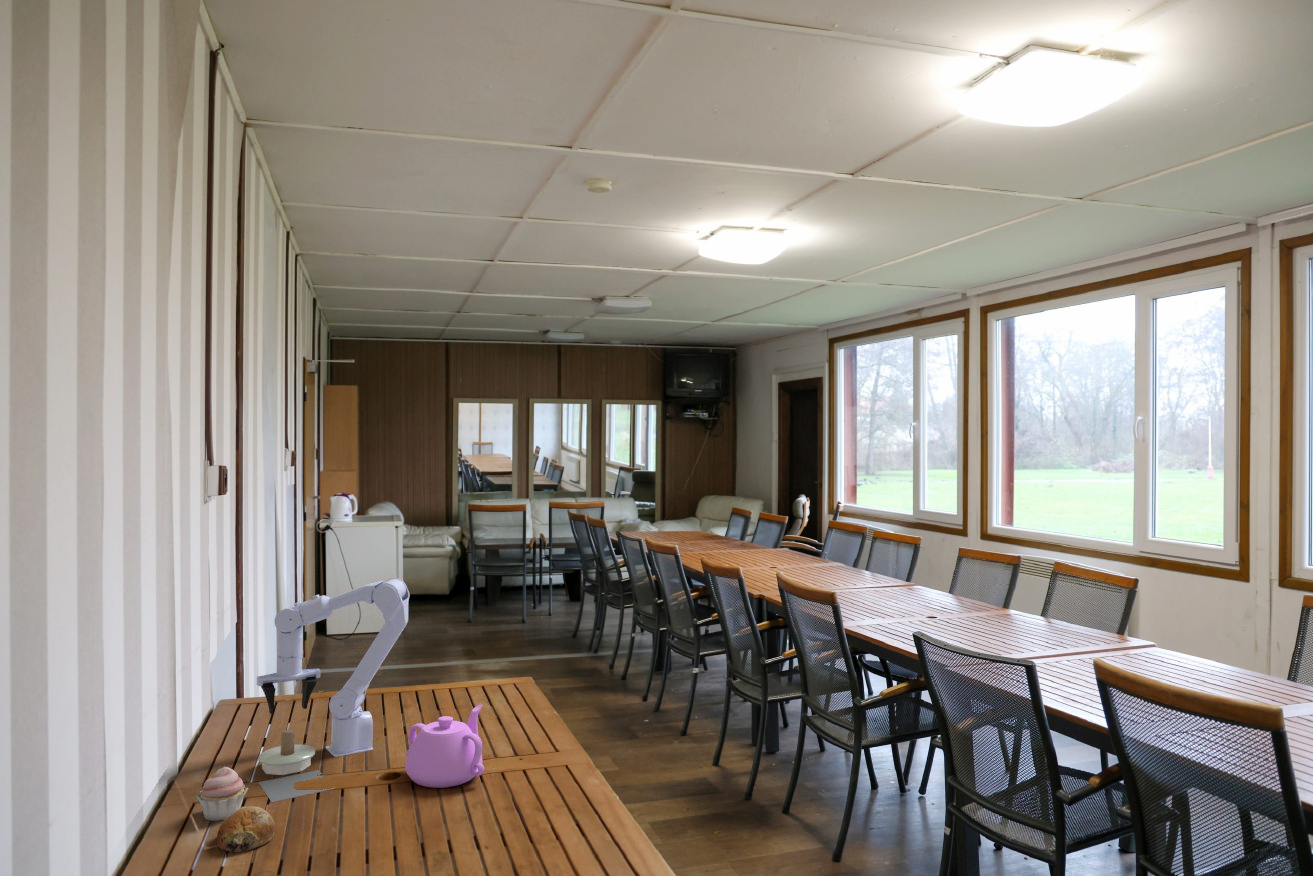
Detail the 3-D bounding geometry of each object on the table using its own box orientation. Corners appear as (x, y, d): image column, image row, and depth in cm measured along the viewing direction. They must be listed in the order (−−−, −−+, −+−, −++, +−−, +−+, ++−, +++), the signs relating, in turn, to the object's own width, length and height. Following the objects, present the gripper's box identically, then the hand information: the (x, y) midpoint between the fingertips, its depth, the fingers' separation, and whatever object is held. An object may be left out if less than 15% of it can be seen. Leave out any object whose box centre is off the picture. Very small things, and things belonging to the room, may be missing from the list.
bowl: (302, 757, 205) (303, 745, 205) (313, 770, 197) (314, 757, 198) (259, 766, 199) (259, 753, 200) (268, 779, 192) (269, 766, 192)
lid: (315, 744, 206) (316, 721, 206) (314, 762, 195) (314, 737, 195) (261, 750, 202) (262, 726, 202) (256, 768, 190) (257, 742, 190)
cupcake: (213, 830, 166) (214, 779, 166) (186, 818, 171) (188, 768, 171) (257, 813, 174) (258, 764, 174) (230, 802, 179) (232, 755, 179)
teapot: (516, 767, 202) (517, 709, 202) (459, 801, 182) (460, 736, 182) (442, 752, 211) (444, 696, 211) (380, 782, 191) (382, 721, 192)
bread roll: (278, 857, 163) (292, 812, 166) (241, 855, 154) (257, 808, 158) (238, 848, 166) (253, 804, 170) (199, 846, 158) (215, 800, 161)
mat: (318, 771, 197) (318, 770, 197) (335, 790, 186) (335, 788, 186) (258, 784, 189) (258, 782, 189) (271, 804, 178) (271, 802, 178)
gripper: (315, 648, 218) (314, 701, 218) (254, 656, 209) (252, 711, 209) (323, 654, 212) (321, 708, 212) (260, 662, 203) (259, 718, 203)
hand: (288, 710), depth 210 cm, fingers open, 7 cm apart
